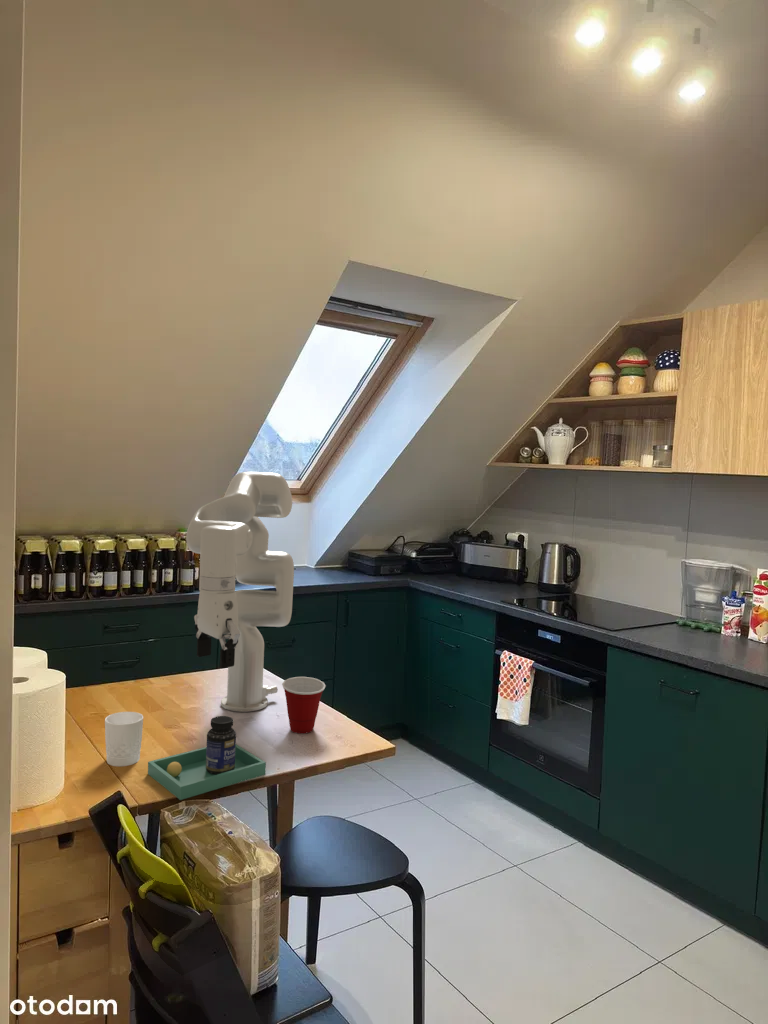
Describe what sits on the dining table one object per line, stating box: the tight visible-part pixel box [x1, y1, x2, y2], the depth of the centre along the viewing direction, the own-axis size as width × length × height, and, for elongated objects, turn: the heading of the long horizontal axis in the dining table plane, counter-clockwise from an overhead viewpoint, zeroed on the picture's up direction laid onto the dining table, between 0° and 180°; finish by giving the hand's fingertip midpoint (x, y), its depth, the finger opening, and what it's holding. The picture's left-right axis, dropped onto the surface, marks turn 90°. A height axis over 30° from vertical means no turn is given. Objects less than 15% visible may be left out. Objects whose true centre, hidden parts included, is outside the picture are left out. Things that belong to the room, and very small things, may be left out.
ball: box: [167, 762, 182, 777], centre depth 152 cm, size 3×3×3 cm
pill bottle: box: [206, 715, 237, 775], centre depth 156 cm, size 6×6×11 cm
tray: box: [147, 743, 267, 801], centre depth 154 cm, size 20×15×3 cm
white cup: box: [104, 711, 144, 767], centre depth 159 cm, size 8×8×10 cm
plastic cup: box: [281, 676, 326, 735], centre depth 183 cm, size 11×11×12 cm
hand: (215, 661), depth 158 cm, fingers open, 9 cm apart
